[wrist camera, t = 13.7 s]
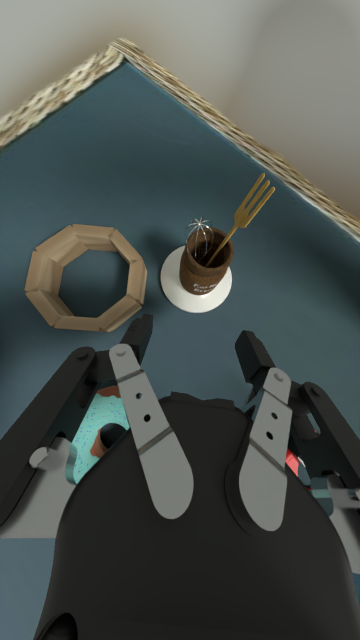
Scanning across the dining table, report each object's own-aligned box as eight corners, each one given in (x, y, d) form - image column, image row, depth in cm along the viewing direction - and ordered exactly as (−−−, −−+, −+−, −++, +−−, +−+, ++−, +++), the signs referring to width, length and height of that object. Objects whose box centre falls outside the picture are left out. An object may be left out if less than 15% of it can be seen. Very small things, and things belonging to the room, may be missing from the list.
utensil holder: (171, 271, 21) (168, 183, 9) (205, 252, 21) (246, 147, 10) (191, 304, 20) (216, 256, 8) (225, 284, 21) (295, 214, 9)
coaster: (198, 234, 22) (198, 231, 22) (244, 282, 22) (246, 281, 21) (146, 274, 21) (145, 272, 21) (193, 327, 20) (194, 327, 20)
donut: (88, 374, 19) (66, 383, 15) (172, 388, 19) (171, 401, 15) (64, 469, 18) (32, 507, 14) (155, 483, 18) (150, 524, 14)
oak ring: (107, 224, 22) (96, 206, 19) (164, 289, 21) (162, 281, 18) (29, 278, 20) (4, 268, 17) (88, 351, 19) (72, 354, 16)
